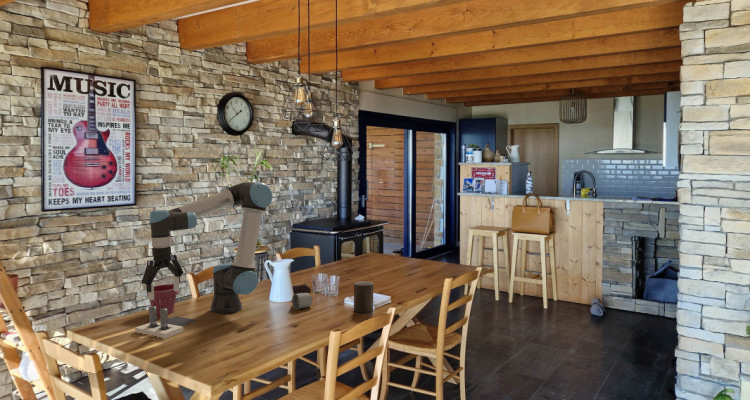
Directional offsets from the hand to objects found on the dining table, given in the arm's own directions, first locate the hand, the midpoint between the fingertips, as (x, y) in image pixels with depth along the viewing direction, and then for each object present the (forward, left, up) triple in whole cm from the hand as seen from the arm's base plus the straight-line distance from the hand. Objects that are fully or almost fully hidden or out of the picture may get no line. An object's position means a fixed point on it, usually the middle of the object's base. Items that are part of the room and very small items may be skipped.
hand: (164, 295), depth 227 cm
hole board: (0, -4, -17) cm, 17 cm away
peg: (0, 0, -17) cm, 17 cm away
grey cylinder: (-59, +29, -17) cm, 68 cm away
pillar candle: (-68, +61, -17) cm, 93 cm away
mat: (-13, -8, -17) cm, 23 cm away
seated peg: (0, -7, -17) cm, 18 cm away
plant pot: (-22, -26, -17) cm, 38 cm away
